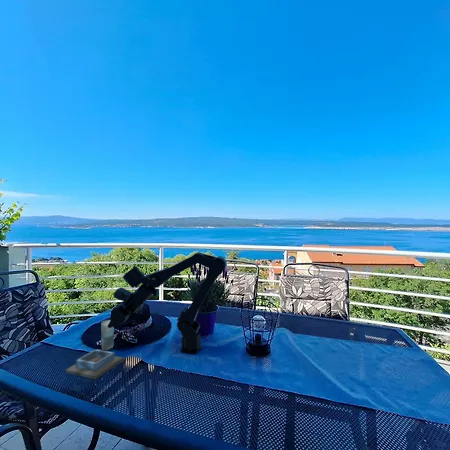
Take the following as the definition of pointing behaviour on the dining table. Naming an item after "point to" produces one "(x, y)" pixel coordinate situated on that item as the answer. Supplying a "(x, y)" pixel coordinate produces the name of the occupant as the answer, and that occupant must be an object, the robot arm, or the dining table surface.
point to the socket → (94, 364)
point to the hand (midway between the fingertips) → (114, 323)
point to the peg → (107, 335)
